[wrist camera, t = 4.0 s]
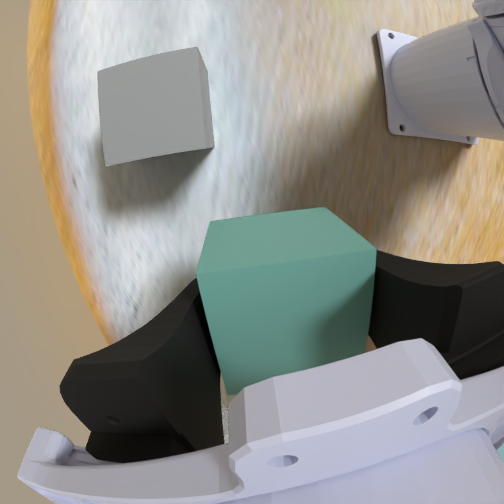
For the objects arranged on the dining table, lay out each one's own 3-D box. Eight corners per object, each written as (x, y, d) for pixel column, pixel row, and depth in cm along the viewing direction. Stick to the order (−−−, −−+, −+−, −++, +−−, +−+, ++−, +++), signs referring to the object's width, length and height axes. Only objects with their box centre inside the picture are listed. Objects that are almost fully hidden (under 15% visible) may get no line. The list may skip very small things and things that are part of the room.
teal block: (324, 206, 12) (376, 248, 7) (326, 303, 14) (361, 372, 9) (210, 221, 12) (195, 274, 7) (228, 318, 14) (227, 395, 9)
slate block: (207, 71, 15) (197, 46, 10) (214, 146, 16) (206, 148, 12) (131, 86, 14) (97, 71, 10) (138, 159, 16) (105, 167, 12)
